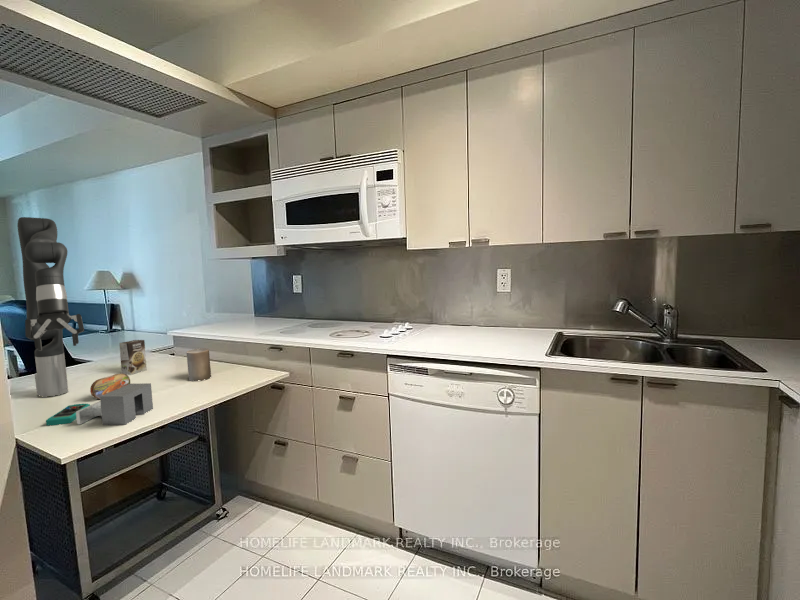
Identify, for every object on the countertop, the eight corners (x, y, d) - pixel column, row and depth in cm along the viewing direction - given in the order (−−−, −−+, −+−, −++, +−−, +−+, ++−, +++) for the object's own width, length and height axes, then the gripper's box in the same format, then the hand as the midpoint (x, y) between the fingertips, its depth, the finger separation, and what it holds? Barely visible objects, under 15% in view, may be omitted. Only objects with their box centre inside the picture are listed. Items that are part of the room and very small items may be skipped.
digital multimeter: (91, 409, 147) (91, 401, 147) (71, 424, 133) (70, 416, 132) (68, 411, 145) (67, 404, 145) (45, 427, 131) (44, 419, 130)
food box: (131, 375, 192) (128, 343, 190) (121, 374, 193) (118, 342, 192) (147, 370, 200) (145, 339, 199) (138, 369, 202) (135, 339, 201)
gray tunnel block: (102, 424, 131) (99, 396, 130) (132, 409, 145) (130, 383, 144) (125, 424, 131) (122, 396, 130) (153, 409, 144) (150, 383, 144)
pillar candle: (215, 376, 187) (213, 345, 186) (200, 382, 177) (198, 350, 176) (199, 375, 189) (196, 345, 188) (183, 381, 180) (180, 349, 179)
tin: (95, 402, 154) (93, 381, 153) (89, 401, 155) (87, 380, 154) (131, 390, 168) (130, 371, 167) (126, 389, 169) (124, 370, 168)
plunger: (77, 424, 131) (75, 411, 131) (123, 402, 152) (122, 391, 152) (113, 423, 131) (112, 411, 130) (154, 401, 152) (153, 391, 151)
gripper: (80, 300, 134) (86, 345, 133) (25, 304, 126) (30, 353, 124) (79, 295, 129) (84, 342, 127) (20, 299, 120) (25, 350, 118)
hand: (57, 348), depth 126 cm, fingers open, 8 cm apart
